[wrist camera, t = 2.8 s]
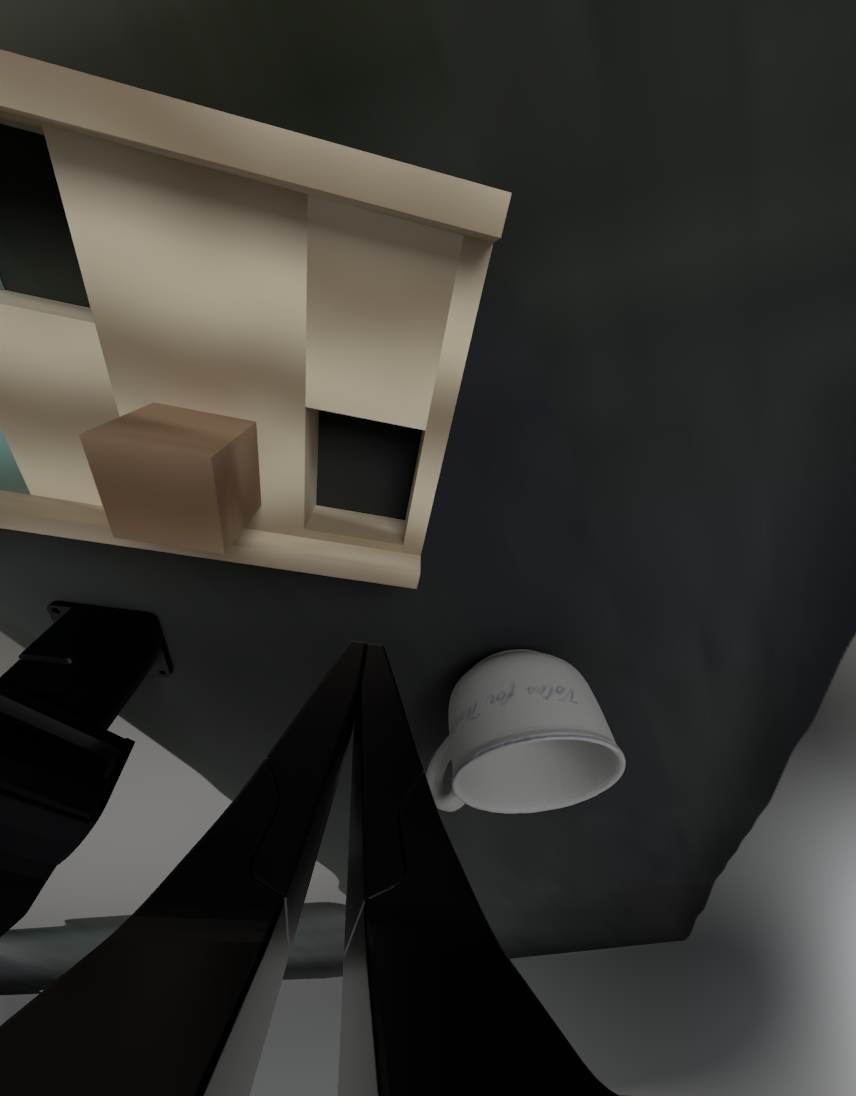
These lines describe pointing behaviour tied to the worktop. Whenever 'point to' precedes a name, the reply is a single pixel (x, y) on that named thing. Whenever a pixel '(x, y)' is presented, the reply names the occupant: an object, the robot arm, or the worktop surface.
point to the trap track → (237, 311)
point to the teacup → (524, 738)
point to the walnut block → (176, 476)
